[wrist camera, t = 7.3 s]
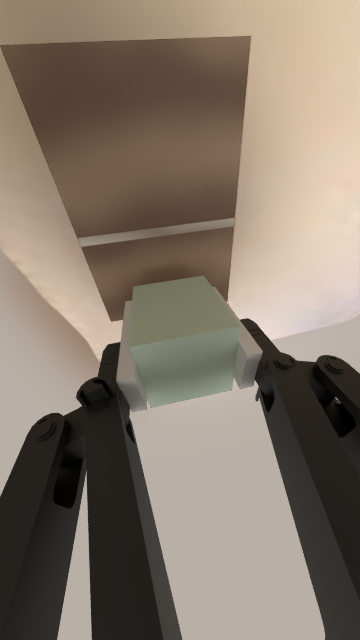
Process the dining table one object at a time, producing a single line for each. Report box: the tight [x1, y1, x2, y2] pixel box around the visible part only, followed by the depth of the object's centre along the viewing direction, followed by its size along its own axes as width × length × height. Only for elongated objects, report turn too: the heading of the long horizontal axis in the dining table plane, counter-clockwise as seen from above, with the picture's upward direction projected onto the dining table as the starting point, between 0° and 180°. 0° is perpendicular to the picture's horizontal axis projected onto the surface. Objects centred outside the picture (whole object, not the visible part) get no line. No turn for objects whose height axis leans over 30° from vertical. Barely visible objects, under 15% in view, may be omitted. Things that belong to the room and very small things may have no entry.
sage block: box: [129, 275, 241, 408], centre depth 12 cm, size 5×5×6 cm
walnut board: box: [0, 36, 251, 322], centre depth 15 cm, size 16×12×4 cm
